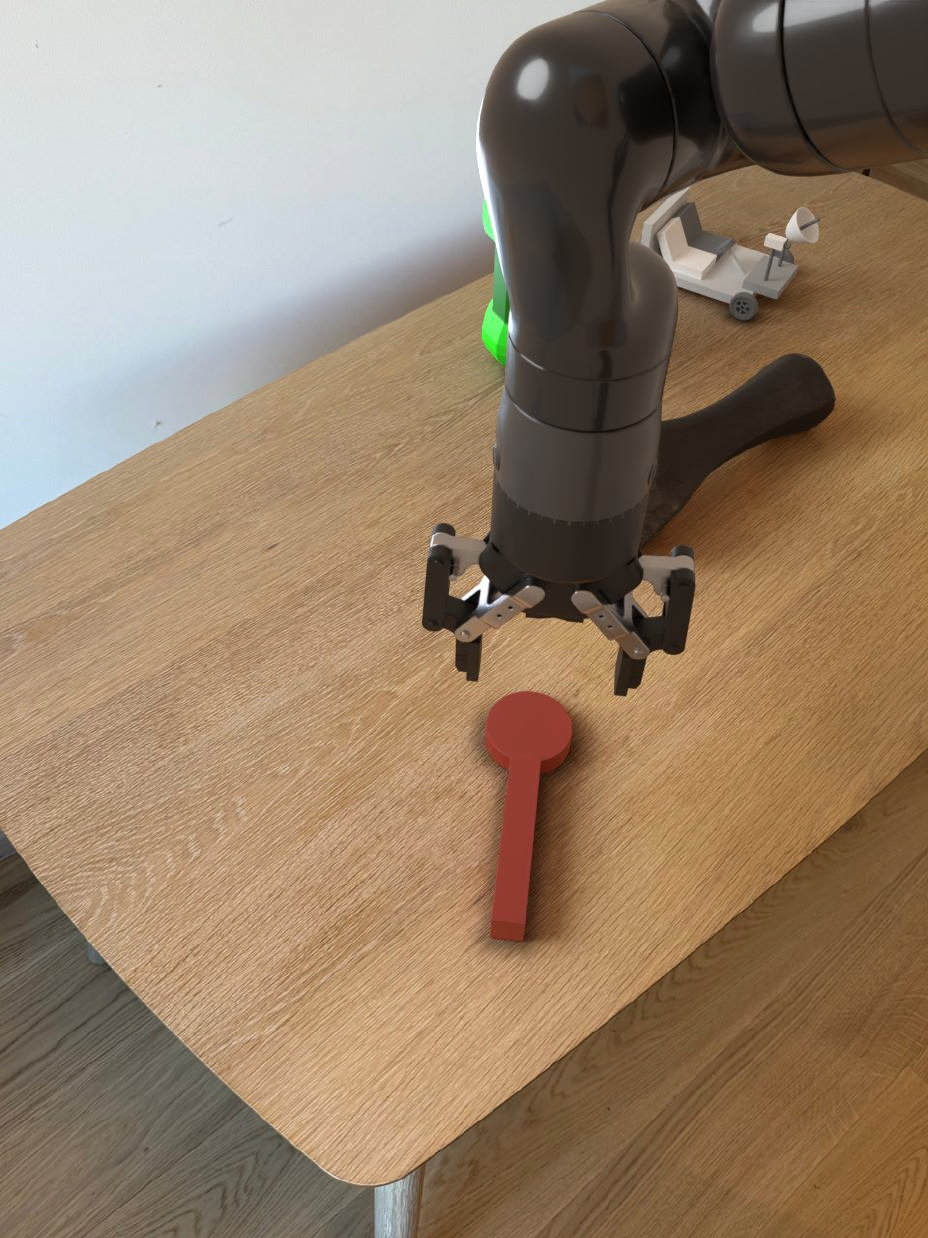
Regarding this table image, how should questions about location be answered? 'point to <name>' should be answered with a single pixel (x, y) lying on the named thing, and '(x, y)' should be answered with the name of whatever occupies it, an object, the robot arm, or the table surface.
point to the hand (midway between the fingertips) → (546, 677)
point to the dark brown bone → (734, 431)
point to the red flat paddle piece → (522, 793)
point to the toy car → (724, 255)
